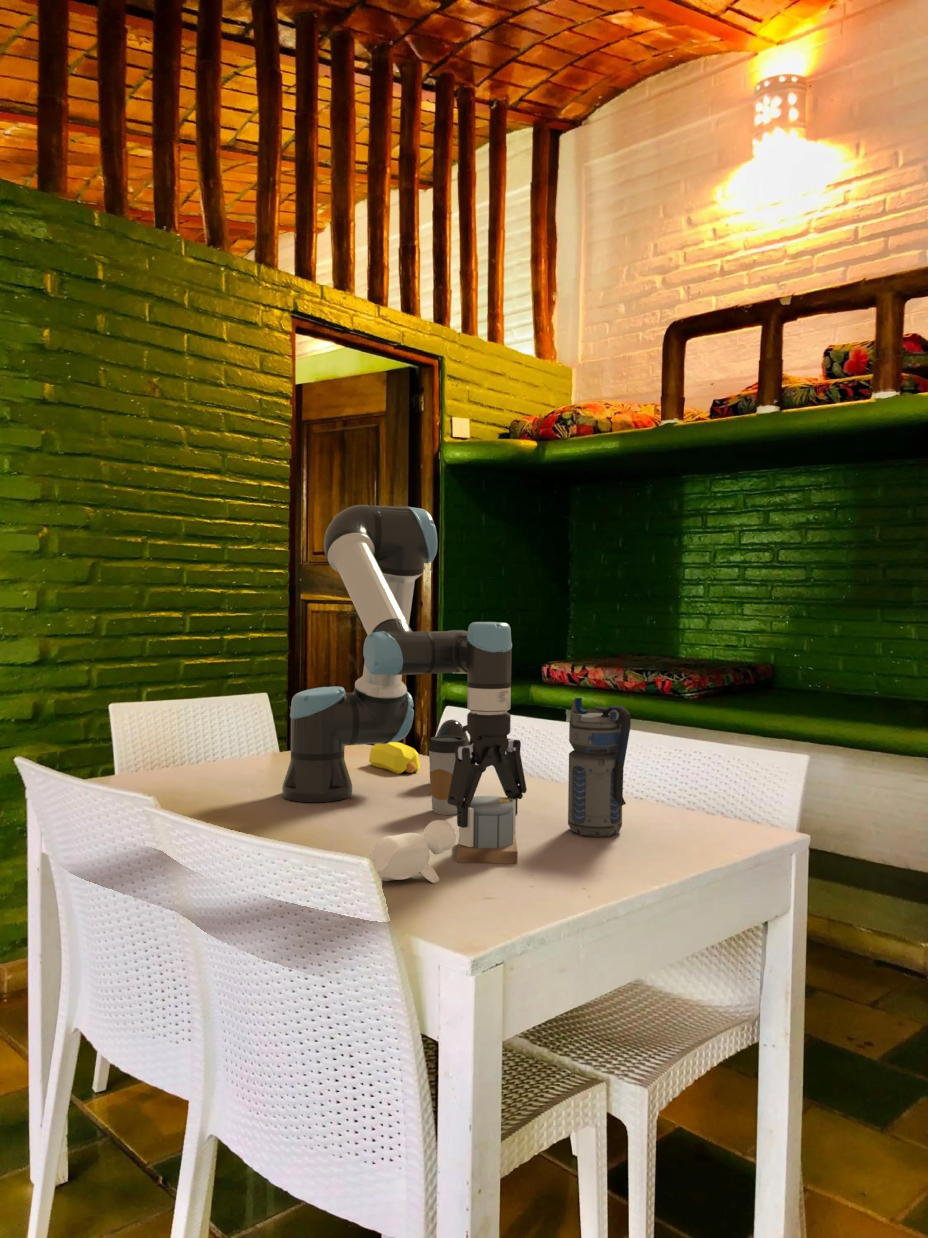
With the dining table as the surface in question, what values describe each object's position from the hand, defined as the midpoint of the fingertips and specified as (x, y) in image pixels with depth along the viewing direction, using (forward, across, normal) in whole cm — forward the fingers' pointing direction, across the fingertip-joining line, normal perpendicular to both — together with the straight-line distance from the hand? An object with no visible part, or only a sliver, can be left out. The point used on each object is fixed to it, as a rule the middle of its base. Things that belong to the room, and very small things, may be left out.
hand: (487, 840), depth 167 cm
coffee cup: (+2, +15, +27) cm, 31 cm away
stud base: (+2, 0, 0) cm, 2 cm away
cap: (0, 0, 0) cm, 0 cm away
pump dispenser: (+2, +33, +46) cm, 57 cm away
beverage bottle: (+3, +26, -4) cm, 26 cm away
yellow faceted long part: (+3, +35, +69) cm, 78 cm away
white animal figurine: (+3, -19, -2) cm, 19 cm away
